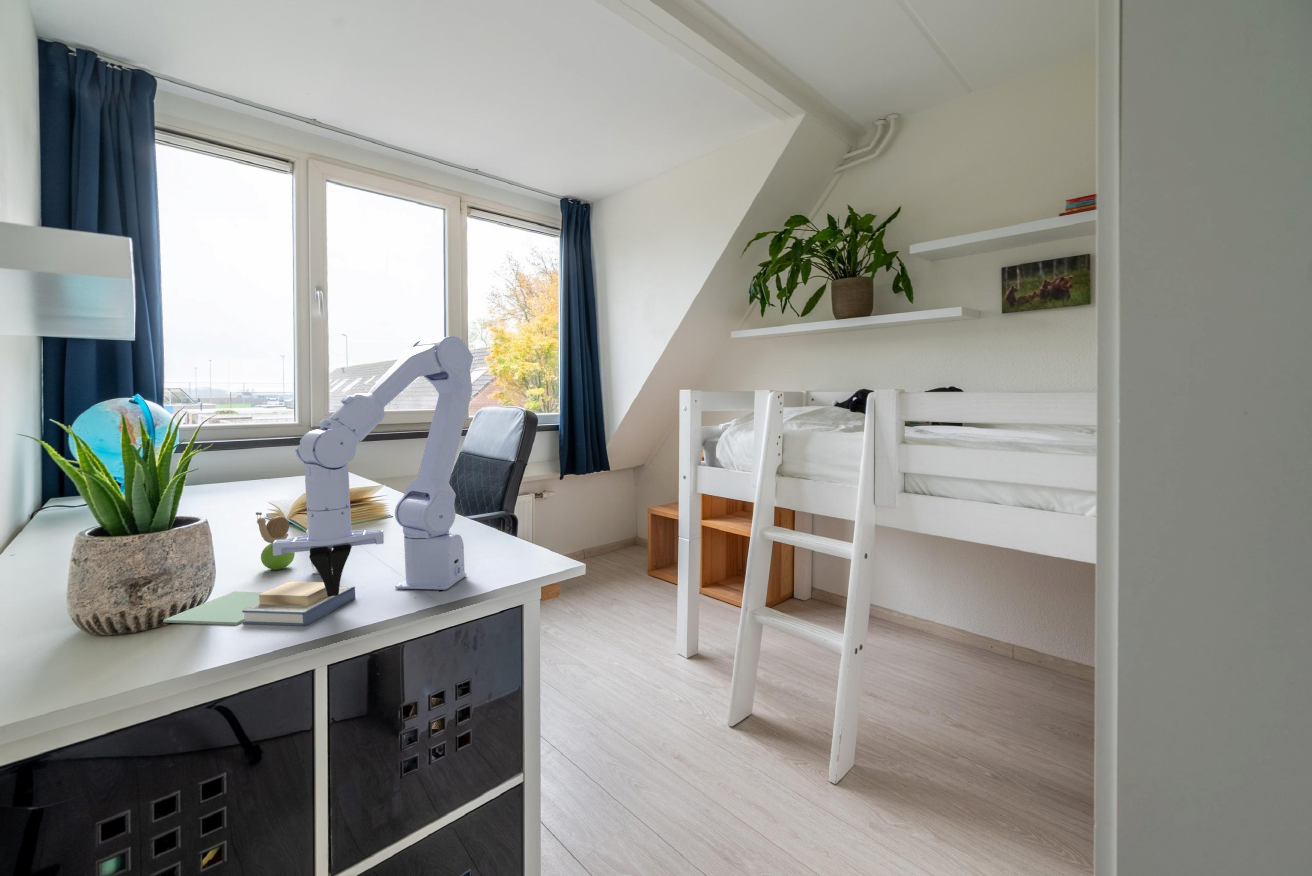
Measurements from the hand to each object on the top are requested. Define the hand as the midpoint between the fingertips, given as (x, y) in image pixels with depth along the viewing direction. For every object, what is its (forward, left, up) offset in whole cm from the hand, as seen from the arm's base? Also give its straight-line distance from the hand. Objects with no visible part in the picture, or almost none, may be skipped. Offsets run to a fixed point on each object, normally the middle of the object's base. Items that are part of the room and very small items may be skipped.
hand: (333, 594), depth 84 cm
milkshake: (+16, -19, -3) cm, 25 cm away
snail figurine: (+26, -19, -3) cm, 33 cm away
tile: (+6, 0, -1) cm, 6 cm away
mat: (+17, 0, -3) cm, 17 cm away
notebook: (+5, 0, -3) cm, 6 cm away
